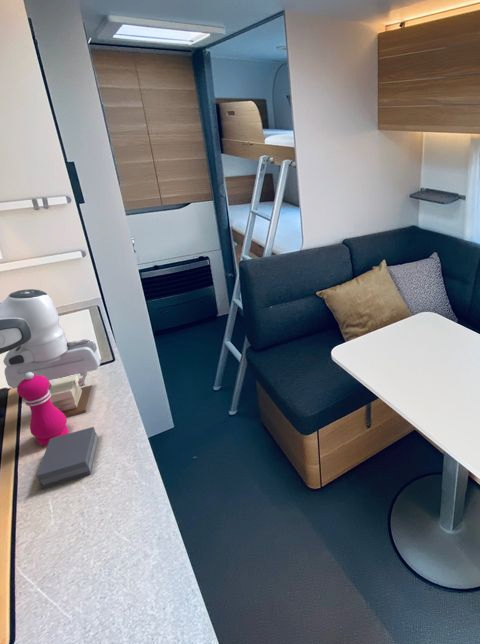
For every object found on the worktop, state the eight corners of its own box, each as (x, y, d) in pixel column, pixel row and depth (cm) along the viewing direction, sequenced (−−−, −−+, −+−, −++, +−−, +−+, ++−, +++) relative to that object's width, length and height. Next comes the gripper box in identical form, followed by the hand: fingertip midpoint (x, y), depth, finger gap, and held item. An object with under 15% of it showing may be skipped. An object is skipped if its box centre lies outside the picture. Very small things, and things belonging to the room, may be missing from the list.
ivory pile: (42, 425, 108) (36, 410, 107) (53, 398, 119) (47, 384, 117) (86, 414, 112) (81, 399, 110) (93, 389, 122) (88, 375, 120)
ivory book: (49, 403, 109) (46, 396, 108) (56, 386, 116) (53, 379, 115) (73, 397, 111) (71, 390, 110) (79, 380, 118) (76, 374, 117)
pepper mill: (49, 452, 100) (21, 385, 92) (29, 444, 102) (0, 378, 95) (78, 431, 106) (53, 367, 99) (59, 425, 109) (33, 361, 101)
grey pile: (42, 491, 90) (36, 476, 88) (55, 452, 100) (49, 438, 98) (92, 476, 93) (86, 461, 91) (99, 440, 103) (94, 426, 102)
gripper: (95, 332, 115) (107, 373, 120) (3, 350, 107) (21, 393, 112) (91, 343, 109) (105, 385, 115) (-6, 362, 101) (14, 407, 107)
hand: (63, 389), depth 113 cm, fingers open, 8 cm apart
